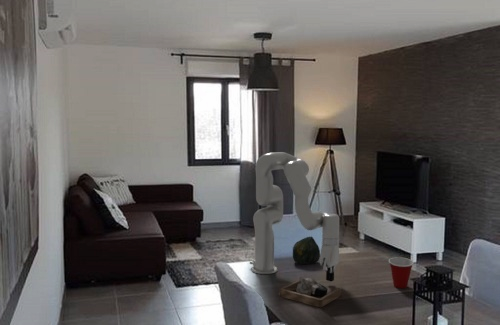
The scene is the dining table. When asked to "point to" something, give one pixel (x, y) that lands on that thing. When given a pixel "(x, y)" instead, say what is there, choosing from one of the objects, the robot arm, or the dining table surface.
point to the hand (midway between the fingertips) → (330, 280)
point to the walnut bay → (321, 302)
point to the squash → (306, 251)
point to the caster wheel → (310, 287)
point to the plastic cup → (400, 271)
